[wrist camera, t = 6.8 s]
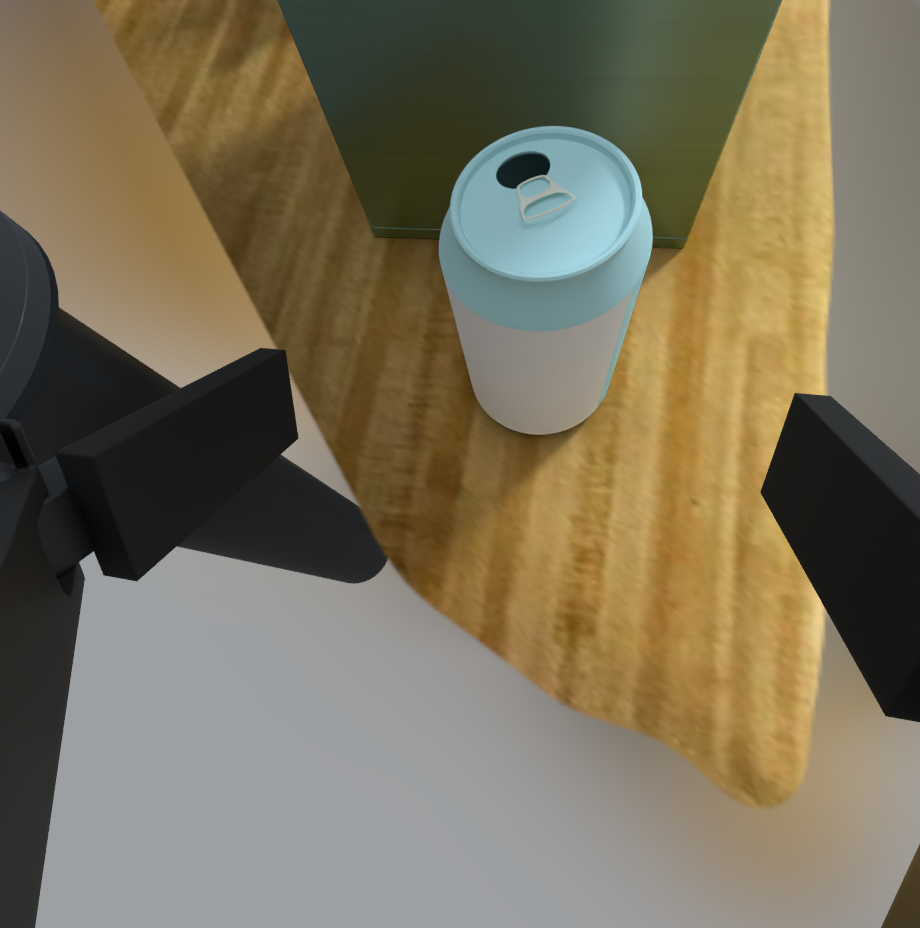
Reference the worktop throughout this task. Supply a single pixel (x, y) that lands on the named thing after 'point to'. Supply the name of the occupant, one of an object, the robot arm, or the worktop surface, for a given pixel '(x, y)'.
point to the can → (544, 272)
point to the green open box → (526, 91)
